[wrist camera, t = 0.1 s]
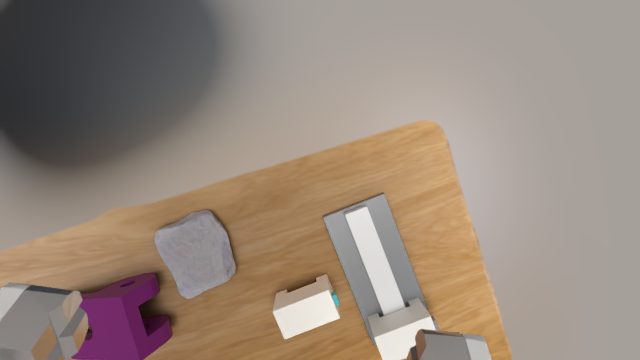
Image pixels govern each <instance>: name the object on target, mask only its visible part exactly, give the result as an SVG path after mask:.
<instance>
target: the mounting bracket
mask: <svg viewBox="0 0 640 360" xmlns="http://www.w3.org/2000/svg"><path fill="white" fill-rule="evenodd" d="M159 291H160V288H159V285H158V282H157V278H156V275H155V274H154V273H146V274H142V275H138V276H133V277H129V278H126V279H124V280H121V281H118V282H116V283H114V284H112V285H110V286H108V287H106V288H104V289H102V290H100V291H97V292H94V293H84V294H80V295H81V297H82V302H81V304H80V305H79V307H80V308H81V309H83V310H84V311H85V312H86V313H87V317H88V324H89V325H90V327H91V329H92V332H93V333H86V336H85V340H84V342H83V344H82V346H81V348H80V349H79V351H78V352H77V353H76V354H75V355H73V356H72V357H71V358H73V359H83V360H143V359H145V358H146V357H147V356H149V355H150V354H151V353H153V352H154V351H155V350H156V349H158V348H159V347H160V346H162V345H163V344H164V343H166V342H167V341H168V340H169V339H170V338H171V336H172V334H173V332H172V329H171V325H170V322H169V319H168V317H167V316H165V315H158V316H154V317H150V318H146V319H142V318H141V315H140V311H139V308H138V306H139V305H141V304H142V303H144V302H146V301H147V300H149V299H151V298H152V297H154V296H155V295H157V294H158V293H159Z"/></svg>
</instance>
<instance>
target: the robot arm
mask: <svg viewBox="0 0 640 360" xmlns="http://www.w3.org/2000/svg"><path fill="white" fill-rule="evenodd" d="M81 302H82V297H81V295H80V292H79V291H74V290H66V289H59V288H51V287H43V286H36V285H29V284H20V283H12V282H10V283H8V284H7V285H5V286H3V287H2V288H1V289H0V360H67V359H69V358H70V357H72V356H73V355H75V354H76V353H77V352H78V351H79V349H80V348H81V346H82V344H83V342H84V340H85V336H86V333H87V330H88V317H87V313H86V312H85V311H84V310H83V309H81V308H80V307H79V305H80V304H81ZM415 341H416V345H415V346H413V347H412V348H410V350H409V353H408V356H407V360H492V359H491V356H490V353H489V350H488V347H487V344H486V341H485V339H484V338H483V337H482V336H480V335H472V334H460V333H458V332H448V331H438V330H427V329H420V330H419V331H418V332H417V334H416V336H415Z"/></svg>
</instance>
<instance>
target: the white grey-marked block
mask: <svg viewBox="0 0 640 360" xmlns="http://www.w3.org/2000/svg"><path fill="white" fill-rule="evenodd" d="M408 303H409V307H406V308H404V309H401V310H399V311H396V312H393V313H391V314H388V315H386V316H383V317H379V314H378V313H376V314H373V315H371V316H368V320H369V323H370V327H371V330H372V333H373V336H374V339H375V341H376V344H377V346H378V349H379V352H380V354H381V357H382V359H383V360H401V359H404V358H407V356H408V353H409V350H410V348H412V347H413V346H415V345H416V341H415V336H416V334H417V332H418V331H419V330H420V329H427V330H439V328H438V325H437V322H436V320H435V318H434V317H433V316H430V314H429V313H428V311H427V310H426V308H425V307H424V305H423V304H422V302H421V301H420V299H419V298H418V297H417V298H415V299H412V300H410V301H408Z"/></svg>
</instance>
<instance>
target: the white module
mask: <svg viewBox="0 0 640 360" xmlns="http://www.w3.org/2000/svg"><path fill="white" fill-rule="evenodd" d="M338 305H340V303H339V299H338V297H337V294H336V292H335V291H333V288H332V286H331V283H330V281H329V278H328V276H327V274H325V275H322V276H320V277H317V278H316V282H315V283H312V284H310V285H307V286H305V287H302V288H299V289H297V290H294V291H292V292H289V293H288V291H287V289H286V290H284V291H281V292H278V293H276V297H275V302H274V307H273V314H274V316H275V318H276V321H277V323H278V326H279V328H280V330H281V333H282V335H283V337H284V340H285V339H288V338H290V337H293V336H295V335H298V334H300V333H303V332H306V331H308V330H311V329H313V328H316V327H319V326H321V325H324V324H326V323H329V322H332V321H334V320H337V319H339V318H340V315H339V309H338Z"/></svg>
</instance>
